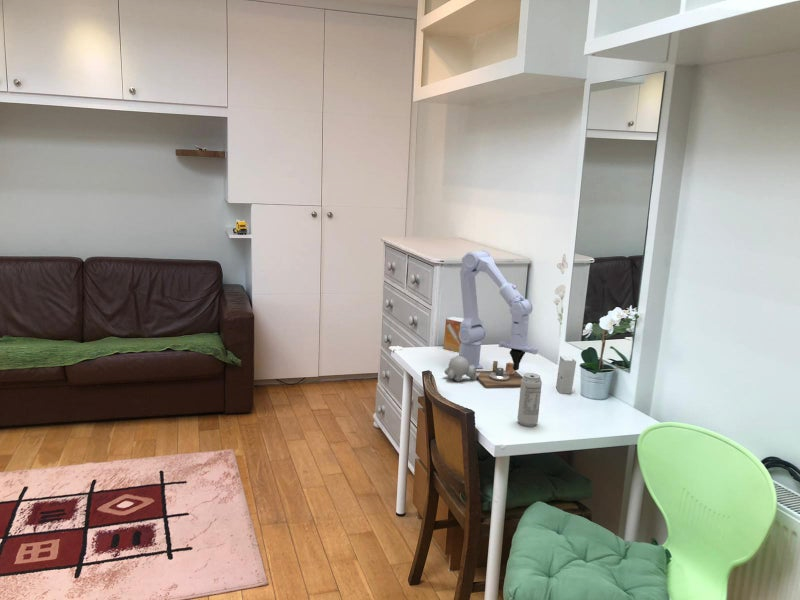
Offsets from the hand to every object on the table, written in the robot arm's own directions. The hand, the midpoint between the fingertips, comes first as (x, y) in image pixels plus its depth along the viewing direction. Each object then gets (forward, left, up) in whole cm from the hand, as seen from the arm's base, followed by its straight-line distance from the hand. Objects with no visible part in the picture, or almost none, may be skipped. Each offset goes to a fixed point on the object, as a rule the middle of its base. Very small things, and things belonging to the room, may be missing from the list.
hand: (516, 369), depth 245 cm
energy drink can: (+42, -12, -4) cm, 44 cm away
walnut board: (+2, -6, -4) cm, 7 cm away
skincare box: (+14, +13, -4) cm, 19 cm away
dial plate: (+1, -5, -2) cm, 6 cm away
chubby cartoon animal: (+1, -20, -4) cm, 21 cm away
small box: (-39, -11, -4) cm, 41 cm away
